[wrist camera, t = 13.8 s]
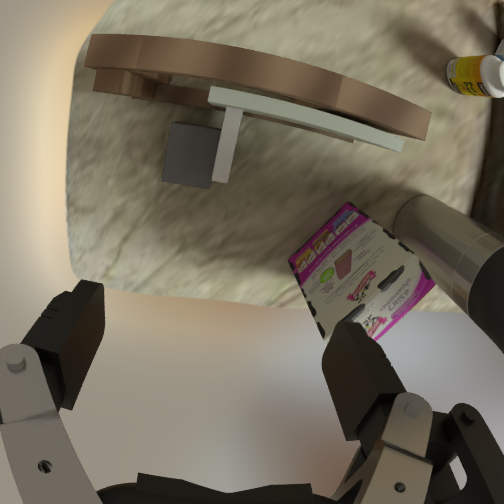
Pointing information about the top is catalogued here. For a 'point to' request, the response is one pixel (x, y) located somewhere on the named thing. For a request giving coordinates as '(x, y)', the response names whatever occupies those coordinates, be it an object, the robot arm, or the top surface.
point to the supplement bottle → (477, 76)
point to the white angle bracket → (287, 112)
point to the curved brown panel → (243, 81)
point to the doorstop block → (191, 154)
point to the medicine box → (500, 51)
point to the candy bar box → (358, 274)
